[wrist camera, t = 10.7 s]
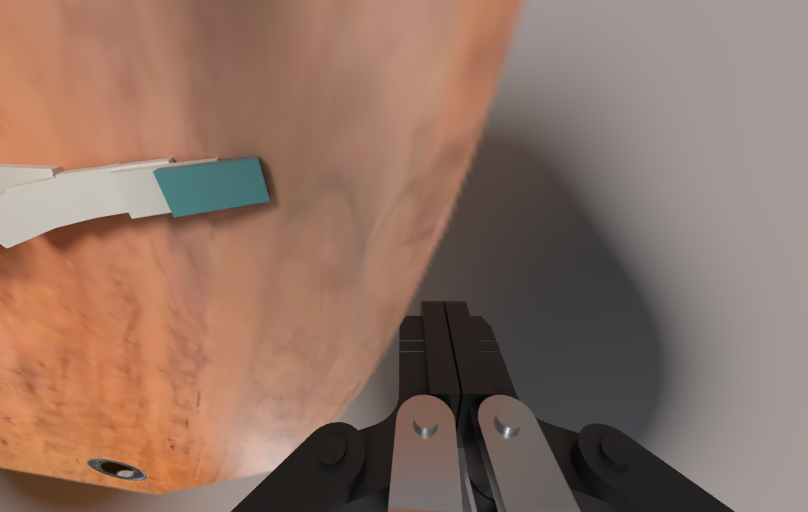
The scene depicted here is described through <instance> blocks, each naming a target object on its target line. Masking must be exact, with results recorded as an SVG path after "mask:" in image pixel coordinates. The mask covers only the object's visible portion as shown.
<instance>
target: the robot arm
mask: <svg viewBox="0 0 808 512" xmlns="http://www.w3.org/2000/svg"><path fill="white" fill-rule="evenodd" d="M399 345H400V346H399V351H400V352H399V400H398V404H397V406H396V408H395V409H394V411H393V412H392V414H391V415H390V416H389V417H388V418H386V419H385V420H384V421H382V422H380V423H378V424H376V425H373V426H370V427H367V428H364V429H362V430H359V431H358V430H357V429H356V428H354V427H353V426H352V425H349V424H346V423H343V422H335V423H330V424H326V425H324V426H322V427H320V428H318V429H317V430H316V431H314V432H313V433H312V434H311V435H310V436H309V437H308V438H307V439H306V440H305V441H304V442H303V443H302V444H301V445H300V446H299V447H297V448H296V449H295V450H294V451H293V452H292V453H291V454H290V455H289V456H288V457H287V458H286V459H285V460H284V461H283V462H282V463H281V464H280V465H279V466H278V467H277V468H276V469H275V470H274V471H273V472H272V473H270V474H269V475H268V476H267V477H266V478H265V479H264V480H263V481H262V482H261V483H260V484H259V485H258V486H257V487H256V488H255V489H254V490H253V491H252V492H251V493H250V494H249V495H248V496H247V497H246V498H245V499H243V501H241V502H240V503H239V504H238V505H237V506H236V507H235V508H234V509H233V510H232V511H231V512H463V510H462V498H461V486H460V475H459V462H458V450H457V448H464V451H465V457H466V463H467V465H466V470H465V481H466V486H467V491H468V495H469V499H470V504H471V508H472V512H734V511H733V510H732V509H730V508H729V507H727V506H726V505H725V504H723V503H721V502H720V501H719V500H717V499H716V498H715V497H713V496H712V495H710V494H709V493H707V492H706V491H705V490H703V489H702V488H701V487H699V486H698V485H696V484H695V483H693V482H692V481H690V480H689V479H688V478H686V477H685V476H684V475H682V474H681V473H679V472H678V471H676V470H675V469H674V468H672V467H671V466H669V465H668V464H667V463H665V462H664V461H662V460H661V459H660V458H658V457H657V456H655V455H654V454H652V453H651V452H650V451H648V450H647V449H645V448H644V447H643V446H641V445H640V444H638V443H637V442H635V441H634V440H632V439H631V438H630V437H628V436H627V435H625V434H624V433H622V432H621V431H619V430H617V429H615V428H613V427H610V426H608V425H604V424H590V425H587V426H585V427H584V428H583V429H582V430H581V431H580V433H576V432H573V431H570V430H567V429H564V428H561V427H557V426H554V425H551V424H548V423H546V422H544V421H542V420H540V419H538V418H536V417H535V416H534V415H533V413H532V412H531V410H530V409H529V408H528V407H527V406H526V405H524V404H523V403H522V402H520V400H519V399H518V397H517V395H516V392H515V390H514V387H513V384H512V382H511V379H510V376H509V373H508V371H507V368H506V365H505V363H504V360H503V357H502V355H501V353H500V349H499V346H498V344H497V342H496V339H495V336H494V333H493V331H492V328H491V326H490V325H489V324H488V323H487V322H486V321H485V320H484V319H483V318H482V317H481V316H470V314H469V311H468V308H467V304H466V302H465V301H443V302H442V301H421V304H420V316H406V317H405V318H404V320H403V322H402V324H401V325H400V340H399Z"/></svg>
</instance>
